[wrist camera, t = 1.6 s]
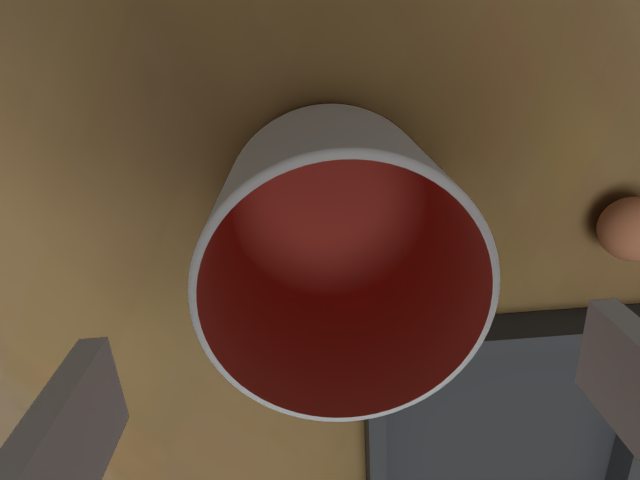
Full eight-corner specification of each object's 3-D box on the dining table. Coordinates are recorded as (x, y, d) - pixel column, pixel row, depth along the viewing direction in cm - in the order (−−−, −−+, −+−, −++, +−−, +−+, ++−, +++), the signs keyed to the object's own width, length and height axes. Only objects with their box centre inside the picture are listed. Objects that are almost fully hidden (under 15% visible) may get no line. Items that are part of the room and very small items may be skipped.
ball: (589, 190, 25) (628, 212, 22) (650, 186, 25) (697, 207, 22) (579, 247, 26) (614, 274, 23) (638, 242, 26) (680, 270, 23)
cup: (366, 56, 22) (415, 77, 13) (458, 229, 26) (547, 343, 16) (187, 169, 24) (118, 260, 15) (297, 317, 27) (296, 463, 18)
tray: (361, 324, 28) (367, 350, 25) (657, 302, 28) (687, 326, 26) (367, 526, 34) (372, 560, 32) (604, 507, 35) (625, 540, 33)
